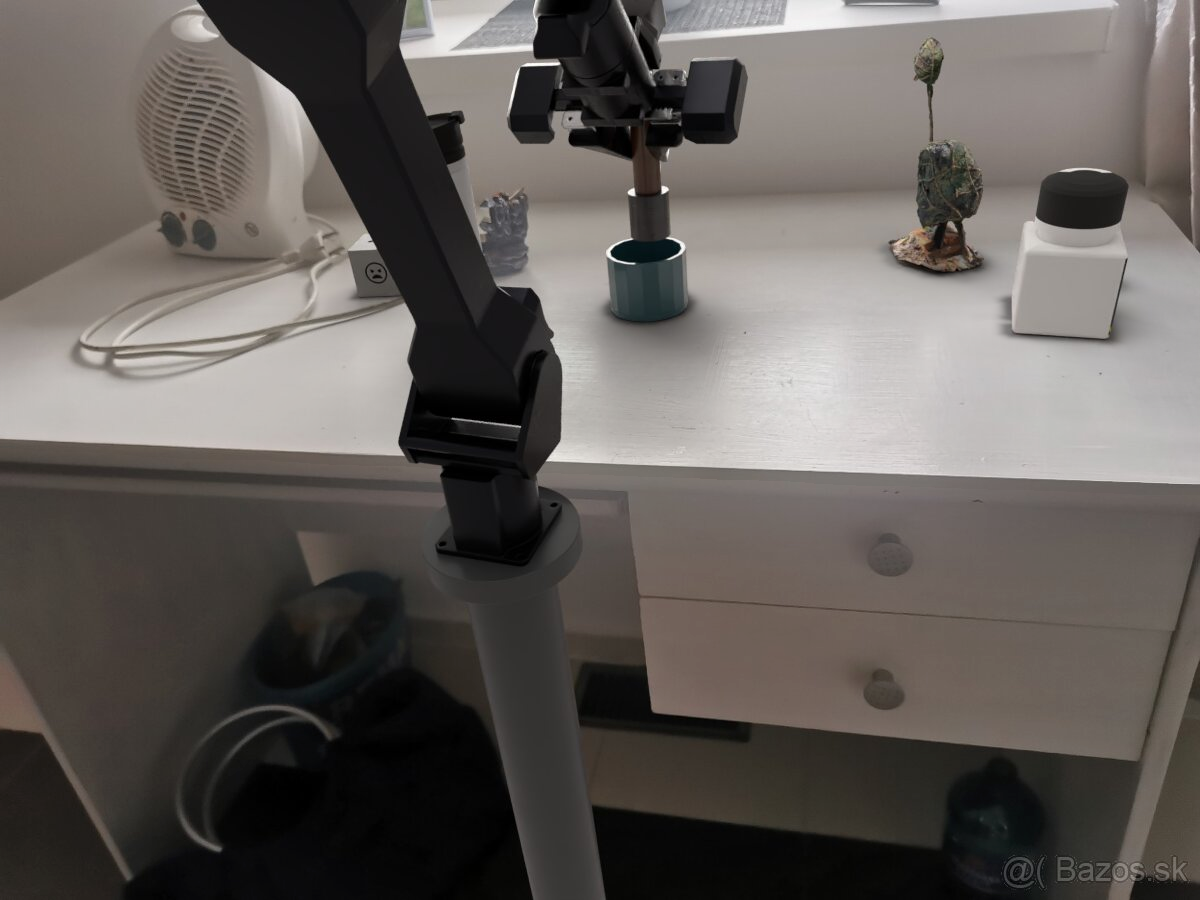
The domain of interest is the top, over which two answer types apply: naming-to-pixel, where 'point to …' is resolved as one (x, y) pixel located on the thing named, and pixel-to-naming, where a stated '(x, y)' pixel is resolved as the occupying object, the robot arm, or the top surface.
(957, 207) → the plant with pod
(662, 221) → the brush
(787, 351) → the top surface
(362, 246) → the dice cube
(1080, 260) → the medicine bottle
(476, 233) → the travel mug
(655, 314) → the beaker
